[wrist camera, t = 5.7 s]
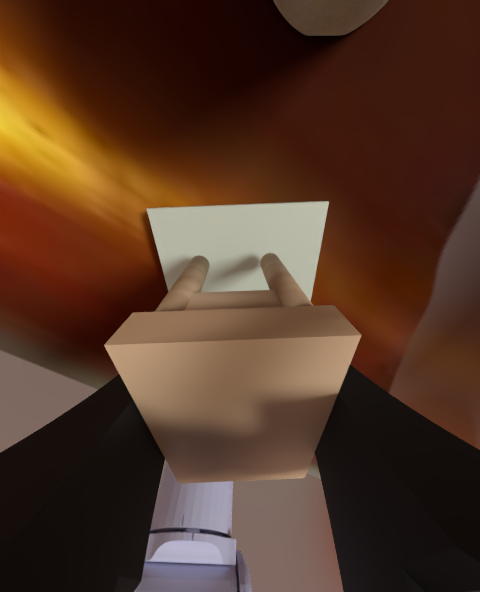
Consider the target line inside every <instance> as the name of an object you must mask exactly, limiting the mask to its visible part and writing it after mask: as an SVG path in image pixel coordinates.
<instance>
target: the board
mask: <svg viewBox="0 0 480 592" xmlns="http://www.w3.org/2000/svg"><path fill="white" fill-rule="evenodd" d="M328 204H329V202H327V201H312V202H287V203H262V204H237V205H211V206H186V207H161V208H149V209H147V213H148V216H149V220H150V224H151V228H152V232H153V235H154V239H155V243H156V247H157V250H158V254H159V258H160V262H161V266H162V269H163V273H164V277H165V281H166V284H167V288H168V292H169V290H170V289H171V288H172V286H173V285H174V283H175V282H176V281H177V279H178V278H179V276H180V275H181V273H182V272H183V271H184V269H185V268H186V266H187V265H188V263H189V262H190V261H191V259H192V258H193V257H194V256H197V255H200V256H204V257H205V258H206V259H207V260H208V261H209V265H210V266H209V270H208V273H207V275H206V278H205V281H204V284H203V286H202V289H201V292H225V291H253V290H269V287H268V284H267V282H266V279H265V276H264V274H263V271H262V268H261V266H260V260H261V258H262V257H263V256H264V255H265V254H267V253H274V254H276V255H277V256H278V258H279V259H280V260H281V262H282V263H283V265H284V266H285V267H286V269H287V270H288V271H289V273H290V274H291V276H292V277H293V278H294V280H295V281H296V282H297V284H298V285H299V287H300V288H301V289H302V291H303V292H304V293H305V295H306V296H307V298H308V299H309V300H310V301H311V296H312V290H313V285H314V280H315V274H316V269H317V263H318V258H319V253H320V247H321V242H322V237H323V231H324V226H325V220H326V215H327V210H328Z"/></svg>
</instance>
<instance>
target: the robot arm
mask: <svg viewBox="0 0 480 592" xmlns="http://www.w3.org/2000/svg"><path fill="white" fill-rule="evenodd" d="M315 454H316V459H317V463H318V467H319V472H320V476H321V481H322V485H323V490H324V495H325V499H326V504H327V509H328V513H329V518H330V523H331V528H332V533H333V538H334V543H335V548H336V553H337V559H338V564H339V569H340V574H341V579H342V585H343V591H344V592H480V450H479V449H477V448H475V447H473V446H472V445H470V444H468V443H467V442H465V441H463V440H461V439H460V438H458V437H457V436H455V435H453V434H451V433H450V432H448V431H446V430H445V429H443V428H442V427H440V426H438V425H437V424H435V423H433V422H432V421H430V420H428V419H427V418H425V417H424V416H422V415H421V414H419V413H417V412H416V411H414V410H413V409H411V408H410V407H408V406H407V405H405V404H404V403H402V402H401V401H399V400H398V399H396V398H395V397H393V396H392V395H390V394H389V393H387V392H386V391H385V390H383V389H382V388H381V387H379V386H378V385H376V384H375V383H374V382H372V381H371V380H370V379H368V378H367V377H365V376H364V375H363V374H362V373H360V372H359V371H358V370H356V369H355V368H354V367H353V366H352V365H349V368H348V370H347V373H346V375H345V378H344V380H343V383H342V385H341V388H340V390H339V393H338V395H337V397H336V400H335V403H334V405H333V408H332V410H331V413H330V415H329V418H328V420H327V423H326V426H325V428H324V431H323V433H322V436H321V438H320V441H319V443H318V446H317V448H316V451H315ZM164 460H165V457H164V456H163V454H162V452H161V450H160V448H159V446H158V444H157V443H156V441H155V439H154V437H153V435H152V433H151V431H150V430H149V428H148V426H147V424H146V422H145V420H144V419H143V417H142V415H141V413H140V411H139V409H138V407H137V406H136V404H135V402H134V400H133V398H132V396H131V394H130V393H129V391H128V389H127V387H126V385H125V383H124V381H123V380H122V378H121V376H120V374H119V375H117V376H116V377H115V378H114V379H112V380H111V381H110V382H108V383H107V384H106V385H104V386H103V387H102V388H100V389H99V390H98V391H96V392H95V393H93V394H92V395H91V396H89V397H88V398H86V399H85V400H84V401H82V402H80V403H79V404H78V405H76V406H75V407H73V408H71V409H70V410H69V411H67V412H65V413H64V414H62V415H61V416H60V417H58V418H56V419H55V420H53V421H52V422H50V423H49V424H47V425H46V426H44V427H43V428H41V429H39V430H38V431H36V432H34V433H33V434H31V435H29V436H28V437H26V438H24V439H23V440H21V441H19V442H18V443H16V444H14V445H13V446H11V447H9V448H8V449H6V450H5V451H3V452H1V453H0V592H252V589H251V581H250V575H249V570H248V567H247V564H246V563H245V561H244V558H243V555H242V553H241V551H239V550H236V539H235V538H231V525H232V524H231V523H232V492H233V481H227V482H205V483H183V484H179V483H178V482H177V480H176V478H175V476H174V474H173V472H172V470H171V469H170V467H169V465H168V463H166V467H165V470H164V474H163V477H162V481H161V485H160V488H159V484H160V479H161V474H162V469H163V465H164ZM158 488H159V492H158ZM157 493H158V495H157Z"/></svg>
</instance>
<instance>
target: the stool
mask: <svg viewBox="0 0 480 592" xmlns="http://www.w3.org/2000/svg"><path fill="white" fill-rule="evenodd" d="M209 266H210V265H209V261H208V260H207V259H206V258H205V257H204V256H200V255H197V256H194V257H193V258H192V259H191V261H190V262H189V263H188V265H187V266H186V268H185V269H184V271H183V272H182V273H181V275H180V276H179V278H178V279H177V281H176V282H175V283H174V285H173V286H172V288H171V289H170V290H169V292H168V293H167V295H166V296H165V298H164V299H163V300H162V302H161V303H160V305H159V306H158V308H157V309H156V310H155V312H135V313H132V314H131V315H130V316H129V317H128V319H127V320H126V321H125V322H124V323H123V324H122V325H121V327H120V328H119V329H118V330H117V331H116V332H115V333H114V334H113V336H112V337H111V338H110V339H109V340H108V341H107V342H106V343H105V345H104V346H105V348H106V350H107V352H108V354H109V356H110V357H111V359H112V361H113V363H114V365H115V367H116V369H117V370H118V372H119V374H120V376H121V378H122V380H123V381H124V383H125V385H126V387H127V389H128V391H129V393H130V394H131V396H132V398H133V400H134V402H135V404H136V406H137V407H138V409H139V411H140V413H141V415H142V417H143V419H144V420H145V422H146V424H147V426H148V428H149V430H150V431H151V433H152V435H153V437H154V439H155V441H156V443H157V444H158V446H159V448H160V450H161V452H162V454H163V456H164V457H165V459H166V461H167V463H168V465H169V467H170V469H171V470H172V472H173V474H174V476H175V478H176V480H177V482H178V483H179V484H183V483H205V482H227V481H248V480H269V479H291V478H305V476H306V473H307V471H308V468H309V466H310V463H311V461H312V458H313V456H314V453H315V451H316V448H317V446H318V443H319V441H320V438H321V436H322V433H323V431H324V428H325V426H326V423H327V420H328V418H329V415H330V413H331V410H332V408H333V405H334V403H335V400H336V397H337V395H338V393H339V390H340V388H341V385H342V383H343V380H344V378H345V375H346V373H347V370H348V368H349V365H350V363H351V360H352V358H353V355H354V353H355V350H356V348H357V345H358V343H359V340H360V338H361V334H360V333H359V332H358V331H357V330H356V329H355V328H354V327H353V326H352V324H351V323H350V322H349V321H348V320H347V319H346V318H345V317H344V316H343V315H342V314H341V313H340V311H339V310H338V309H337V308H336V307H335V306H334V305H325V306H313V304H312V303H311V302H310V300H309V299H308V298H307V296H306V295H305V293H304V292H303V291H302V289H301V288H300V287H299V285H298V284H297V282H296V281H295V280H294V278H293V277H292V276H291V274H290V273H289V271H288V270H287V269H286V267H285V266H284V265H283V263H282V262H281V260H280V259H279V258H278V256H277V255H276V254H274V253H267V254H265V255H264V256H263V257H262V258H261V260H260V266H261V268H262V271H263V274H264V276H265V279H266V282H267V284H268V287H269V290H253V291H225V292H201V289H202V286H203V284H204V281H205V278H206V275H207V273H208V270H209Z"/></svg>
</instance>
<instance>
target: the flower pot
mask: <svg viewBox="0 0 480 592" xmlns="http://www.w3.org/2000/svg"><path fill="white" fill-rule="evenodd" d="M273 1H274V3H275V5H276V6H277V8H278V10H279V11H280V13H281V14H282V15H283V16H284V18H285V19H286V20H287V21H288V22H289V24H290V25H291V26H293V27H294V28H295V29H296V30H298V31H299V32H301V33H302V34H304V35H307V36H328V35H331V36H338V35H345V34H348V33H350V32H351V31H353V30H355V29H357V28H358V27H359V26H361V25H362V24H364V23H365V22H366V21H368V20H369V19H370V18H371V17H372V16H374V15H375V14H376V13H377V12H378V11H379V10H380V9H381V8H382V7H383V6H384V5H385V4H386V2H387V1H388V0H273Z"/></svg>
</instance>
